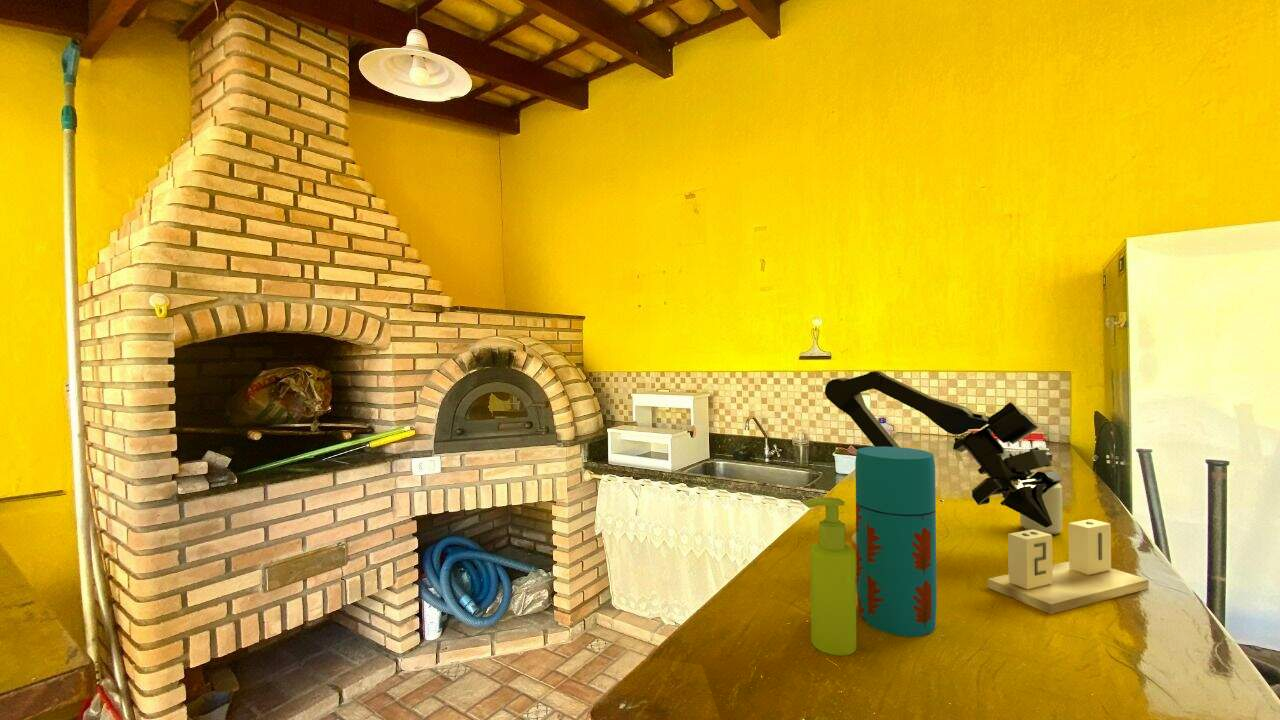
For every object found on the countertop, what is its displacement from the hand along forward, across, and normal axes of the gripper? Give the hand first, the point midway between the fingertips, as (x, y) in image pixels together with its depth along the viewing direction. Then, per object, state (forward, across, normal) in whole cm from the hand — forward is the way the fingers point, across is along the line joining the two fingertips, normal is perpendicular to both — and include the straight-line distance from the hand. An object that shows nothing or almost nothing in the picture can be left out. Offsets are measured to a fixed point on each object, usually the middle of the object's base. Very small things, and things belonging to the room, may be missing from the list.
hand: (1049, 526), depth 99 cm
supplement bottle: (-1, -35, +11) cm, 37 cm away
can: (-4, +19, +15) cm, 24 cm away
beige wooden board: (+10, -8, 0) cm, 13 cm away
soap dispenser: (+10, -56, 0) cm, 57 cm away
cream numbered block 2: (+8, -15, -1) cm, 17 cm away
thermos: (+9, -42, +2) cm, 43 cm away
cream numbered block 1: (+9, 0, -1) cm, 9 cm away
